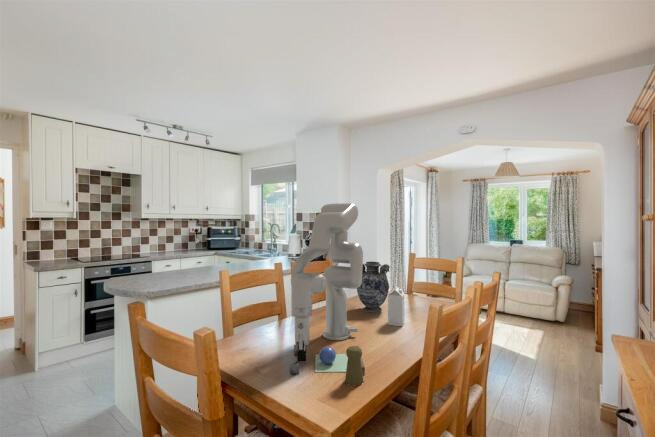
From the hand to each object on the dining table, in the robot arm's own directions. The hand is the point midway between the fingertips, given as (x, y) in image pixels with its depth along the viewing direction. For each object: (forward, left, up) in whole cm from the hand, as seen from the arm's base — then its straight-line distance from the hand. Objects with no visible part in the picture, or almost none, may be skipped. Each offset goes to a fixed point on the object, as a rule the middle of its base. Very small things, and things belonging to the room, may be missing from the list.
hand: (301, 360), depth 114 cm
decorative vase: (-37, -66, -1) cm, 76 cm away
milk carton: (-45, -42, -1) cm, 62 cm away
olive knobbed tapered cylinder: (-18, +13, -1) cm, 22 cm away
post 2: (+2, +7, -1) cm, 8 cm away
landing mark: (-12, 0, -1) cm, 12 cm away
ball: (-10, 0, +2) cm, 10 cm away
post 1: (+2, -8, -1) cm, 8 cm away
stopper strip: (-21, 0, -1) cm, 21 cm away
